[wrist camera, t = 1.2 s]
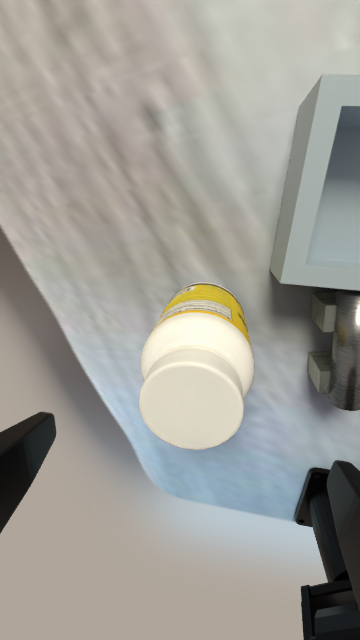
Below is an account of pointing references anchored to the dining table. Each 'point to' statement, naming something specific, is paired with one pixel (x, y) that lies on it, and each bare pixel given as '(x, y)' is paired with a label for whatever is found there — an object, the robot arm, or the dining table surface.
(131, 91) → the dining table surface
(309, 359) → the shaft
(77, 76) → the dining table surface
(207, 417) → the supplement bottle
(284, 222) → the housing
